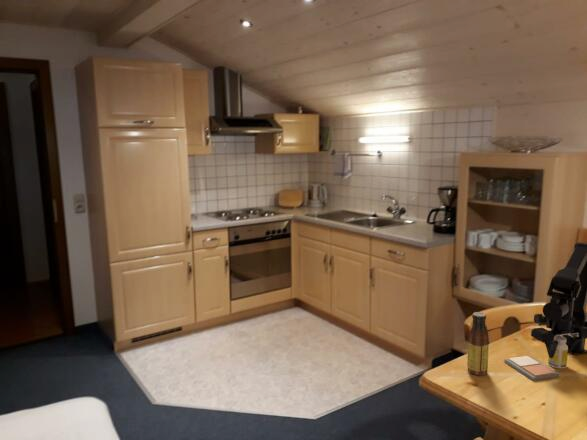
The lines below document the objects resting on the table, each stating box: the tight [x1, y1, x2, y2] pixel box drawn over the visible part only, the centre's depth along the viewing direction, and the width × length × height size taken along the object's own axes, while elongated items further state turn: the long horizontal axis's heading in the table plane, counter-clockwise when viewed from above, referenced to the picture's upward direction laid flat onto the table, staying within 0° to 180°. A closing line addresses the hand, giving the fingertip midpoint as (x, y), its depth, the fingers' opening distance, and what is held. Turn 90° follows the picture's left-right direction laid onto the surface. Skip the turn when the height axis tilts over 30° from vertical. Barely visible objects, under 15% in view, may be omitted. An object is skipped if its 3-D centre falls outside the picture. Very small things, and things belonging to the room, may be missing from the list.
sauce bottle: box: [466, 311, 490, 377], centre depth 151 cm, size 7×6×20 cm
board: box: [503, 355, 560, 382], centre depth 154 cm, size 10×13×1 cm
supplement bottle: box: [547, 335, 569, 369], centre depth 156 cm, size 5×5×10 cm
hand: (557, 356), depth 157 cm, fingers closed on supplement bottle, 5 cm apart
